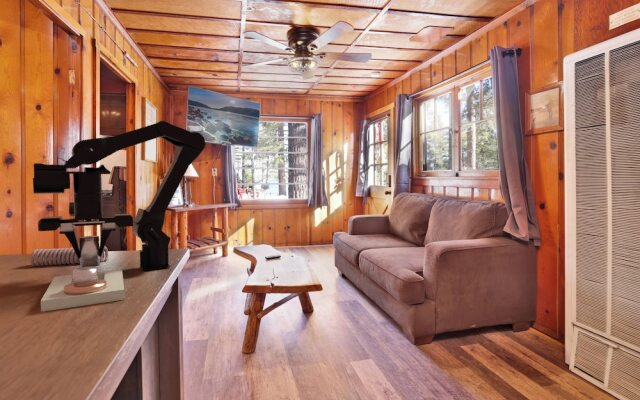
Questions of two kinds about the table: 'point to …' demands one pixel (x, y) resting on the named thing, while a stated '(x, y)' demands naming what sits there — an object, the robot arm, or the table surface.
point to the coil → (59, 256)
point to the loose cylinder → (89, 251)
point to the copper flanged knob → (85, 282)
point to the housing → (60, 300)
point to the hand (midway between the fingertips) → (90, 257)
